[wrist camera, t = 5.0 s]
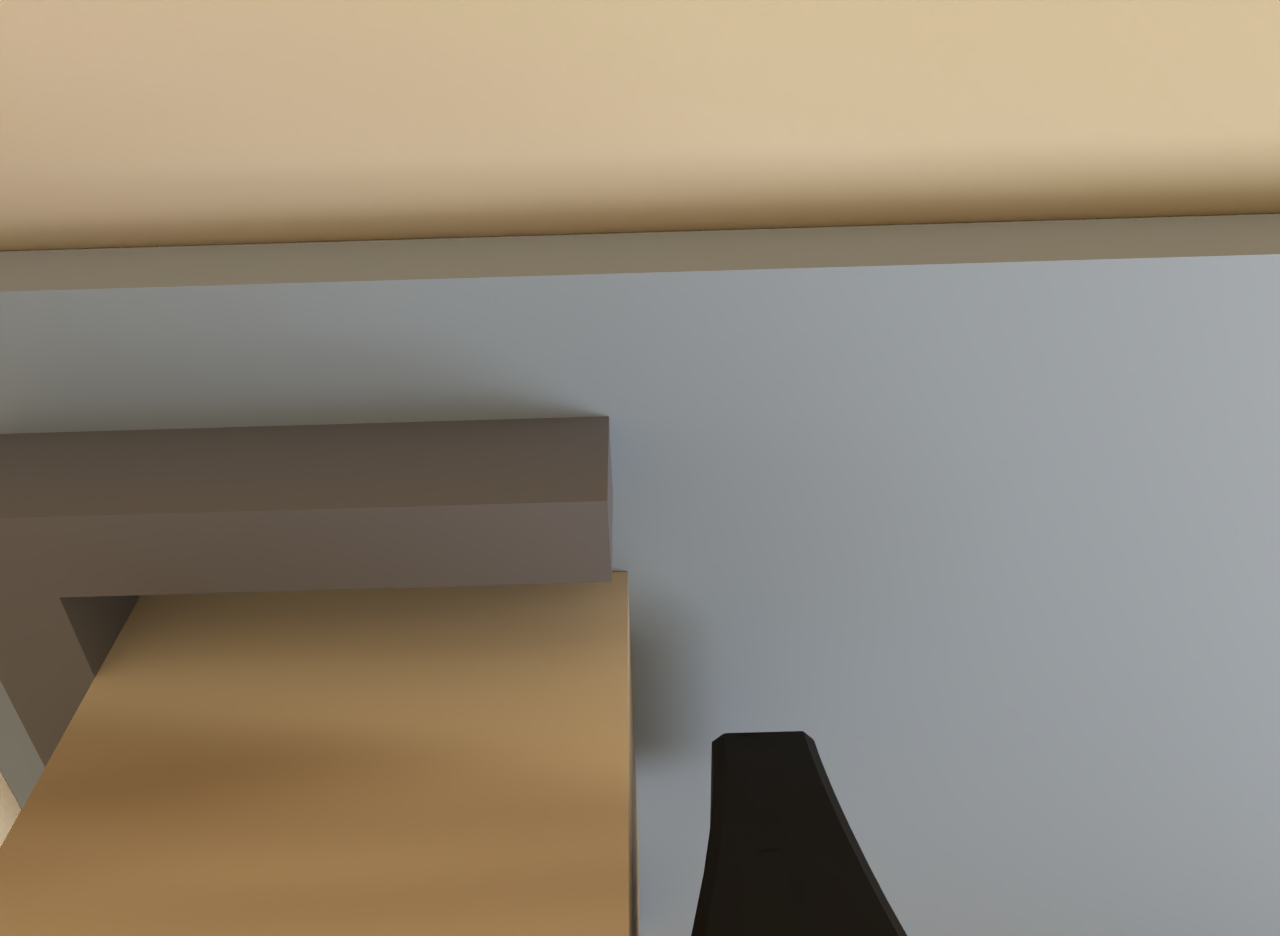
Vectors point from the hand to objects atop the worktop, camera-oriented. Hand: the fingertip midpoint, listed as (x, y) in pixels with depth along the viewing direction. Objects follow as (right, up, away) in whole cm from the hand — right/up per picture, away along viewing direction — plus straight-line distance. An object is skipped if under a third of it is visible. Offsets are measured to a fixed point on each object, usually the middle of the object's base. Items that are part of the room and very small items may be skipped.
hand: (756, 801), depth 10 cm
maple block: (-3, 0, +1) cm, 4 cm away
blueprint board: (0, +1, +2) cm, 2 cm away
